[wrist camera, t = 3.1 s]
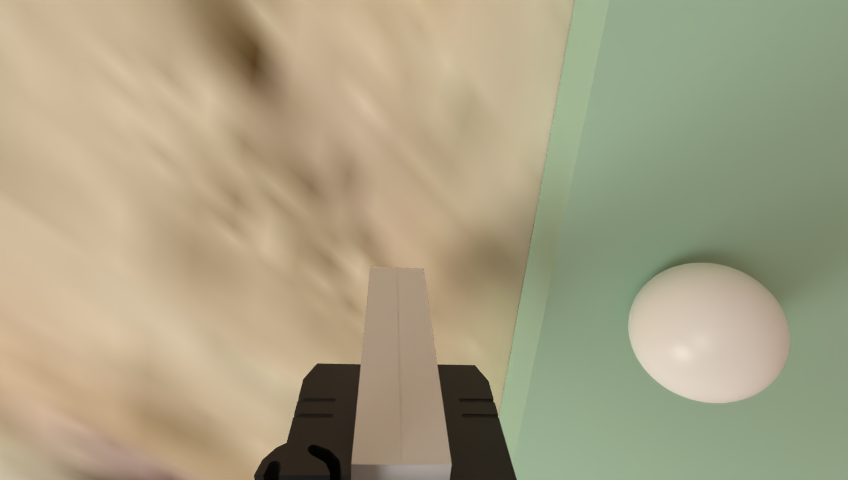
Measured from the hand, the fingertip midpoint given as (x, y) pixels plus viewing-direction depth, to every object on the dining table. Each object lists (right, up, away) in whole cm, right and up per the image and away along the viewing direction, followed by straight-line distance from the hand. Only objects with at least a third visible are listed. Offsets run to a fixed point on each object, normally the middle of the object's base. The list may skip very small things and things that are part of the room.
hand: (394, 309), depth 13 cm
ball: (+9, -1, 0) cm, 9 cm away
